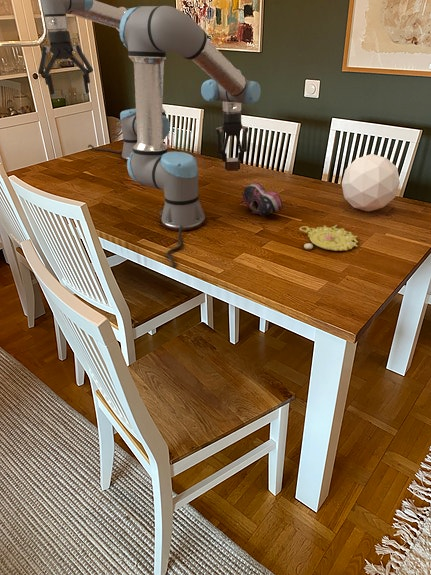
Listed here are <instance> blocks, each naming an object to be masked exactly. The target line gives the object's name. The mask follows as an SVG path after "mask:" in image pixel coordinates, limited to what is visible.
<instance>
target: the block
mask: <svg viewBox="0 0 431 575" xmlns="http://www.w3.org/2000/svg"><path fill="white" fill-rule="evenodd" d="M226 171H227V172H238V171H240V169H239V161H238V157H227V170H226Z"/></svg>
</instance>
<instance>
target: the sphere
mask: <svg viewBox="0 0 431 575" xmlns="http://www.w3.org/2000/svg"><path fill="white" fill-rule="evenodd" d="M400 183H401V181H400V176H399V170H398V167H397V165H395V164H394V163H393V162H392V161H390V160H389V159H388V157H385V156H382V155H381V156H380V155H377V154H374V153H370V154H367V155H362V156H360V157H356V158H355V159H354V160H353V161H352V162H351V163H350V164H349V165H348V166H347V167H346V168H345V169H344V173H343V177H342V180H341V188H342V193H343V199H345V200H346V201H347V203H349V204H350V206H352V208H354V209H358V210H361V211H364V212H367V213H368V212H372V211H376V210H379V209H382V208H384V207H385V206H387V205H388V204H390V203H391V201H393V200H394V199H395V198H396V196H397V193H398V190H399V187H400Z"/></svg>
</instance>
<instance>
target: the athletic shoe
mask: <svg viewBox="0 0 431 575" xmlns="http://www.w3.org/2000/svg"><path fill="white" fill-rule="evenodd" d="M241 197H242V199H243V201H238V203H239V204H241V205H245V206H246V207H247V208H248V210H249V211H250V210H251V213H252V214H255V215H260V217H266V216H267V215H270V214H274V213H275V212H279V211H282V210H283V209H284V205H283V201H282V198H281V196H280V195H279V194H278V192H277V191H274V190H269V191H267V190H266V189H265V187H264V186H263V185H262V184H261V183H258V182H251V183H249V184H247V186H246V187H245V188H244V190H243V191H242V192H241Z"/></svg>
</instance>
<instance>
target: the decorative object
mask: <svg viewBox="0 0 431 575" xmlns="http://www.w3.org/2000/svg"><path fill="white" fill-rule="evenodd" d="M303 228H304V229H305V230H304V229H303ZM299 231H300V232H303V233H305V234H307V237H308V238H309V240H310V241H311V243H304V244H303V248H304V249H305V250H313V249H314V245H315V246H316V247H318V248H321V249H324V250H328V251H335V252H341V251H348V250H352V249H354V247H356V248H358V247H359V245H358V244H357V243H359V240H357V238H359V237H358V235H353V234H352V231H347V230H346V229H345V228H344V227H342V228H338V224H335V225H333V226H331V227H328V226H327V225H326V224H325V225H323V226H322V227H321V226H317V227H316V228H314V227H309V226H308V225H302V226H300V227H299ZM313 244H314V245H313Z"/></svg>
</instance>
